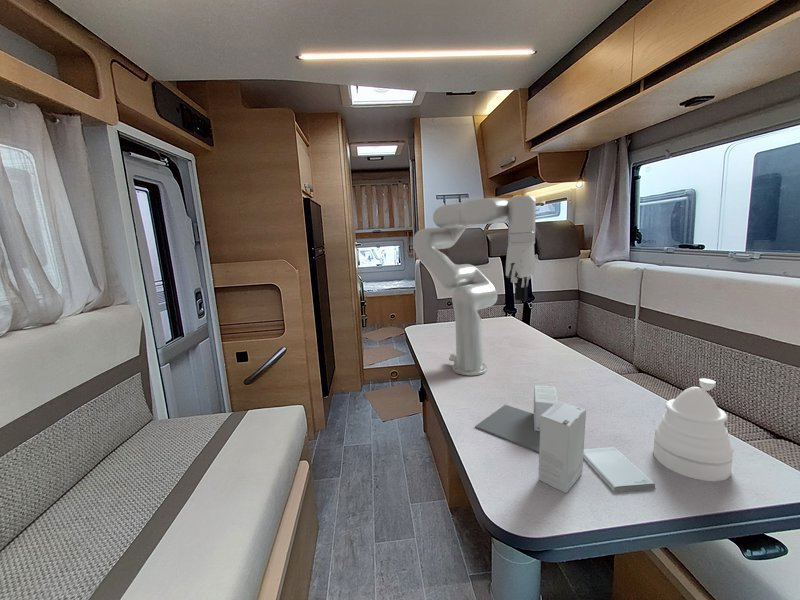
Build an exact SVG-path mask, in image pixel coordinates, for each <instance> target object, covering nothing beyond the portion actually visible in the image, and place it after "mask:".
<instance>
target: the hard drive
mask: <svg viewBox="0 0 800 600" xmlns="http://www.w3.org/2000/svg"><path fill="white" fill-rule="evenodd" d="M583 460H585V461H586V462H587V463H588V465H589V466H590V467H591V468H592V469H593V470H594V471H595V473H596V474H597V475H598V476H599V477H600V478H601V479H602V480H603V481H604V482H605V483H606V485H608V487H609V488H610V490H612V491H613V492H614V493H615V492H628V491H640V490H651V489H656V484H655V483H654V481H652V480H651V479H650V478H649V477H648V476H647V475H646V474H645V473H643V472H642V471H641V469H639V468H638V467H637V466H636V465H635V464H634V463H632V461H631V460H629V459H628V458H627V457H626V456H625V455H624V454H623V453H622V452H621V451H619V450H618V449H617V448H616V447H614V446H607V447H595V448H584V454H583Z"/></svg>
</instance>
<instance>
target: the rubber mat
mask: <svg viewBox="0 0 800 600" xmlns="http://www.w3.org/2000/svg"><path fill="white" fill-rule="evenodd" d="M474 428H476V429H478V430H481V431H483V432H485V433H488V434H491V435H494V436H496V437H497V438H501V439H503V440H504V441H508V442H510V443H514V444H515V445H518V446H521V447H523V448H525V449H528V450H530V451H533V452H536V453H538V454H539V447H540V431H535V430H534V412H533V413H532V412H530V411H526V410H523V409H520V408H518V407H514V406H511V405H508V404H504V405H502V406H501V407H499V409H497V410H496V411H494V412H492V414H490V415H489V416H487V417H486V418H484V419H483V420H482V421H480V422H478V423H477V424H476V425H474Z"/></svg>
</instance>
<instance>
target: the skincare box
mask: <svg viewBox="0 0 800 600" xmlns="http://www.w3.org/2000/svg"><path fill="white" fill-rule="evenodd" d="M586 416H587V410H586V409H585V408H583V407H579V406H577V405H572V404H570V403H568V402H567V403H566V402H564V401H561V400H558V401H557V402H556V403H555V404H554V405H552V406H551V407H550V408H549V409H548V410H547V411H545V412H544V413H543V414H542V415H541V420H540V447H539V453H538V454H539V455H538V480H539V481H540V482H542V483H544V484H546V485H549V486H551V487H553V488H555V489H556V490H558V491H560V492H562V493H564V494H568V492H569V491H570V490H571V488H572V487H573V485H574V484H575V483H576V482H577V481H578V479H579V478H580V476H582V474H583V471H584V469H583V468H584V458H583V454H584V449H585V435H586V434H585V433H586V419H587V417H586Z"/></svg>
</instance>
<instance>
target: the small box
mask: <svg viewBox="0 0 800 600" xmlns="http://www.w3.org/2000/svg"><path fill="white" fill-rule="evenodd" d="M557 401H559V398H558V392H557V389H556V386H550V385H549V386H548V385H536V384H535V385H534V386H533V414H534V430H535V431H540V420H541V415H542V414H543V413H544V412H545V411H547V410H548V409H549V408H550V407H551V406H552V405H554V404H555V403H556V402H557Z"/></svg>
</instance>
